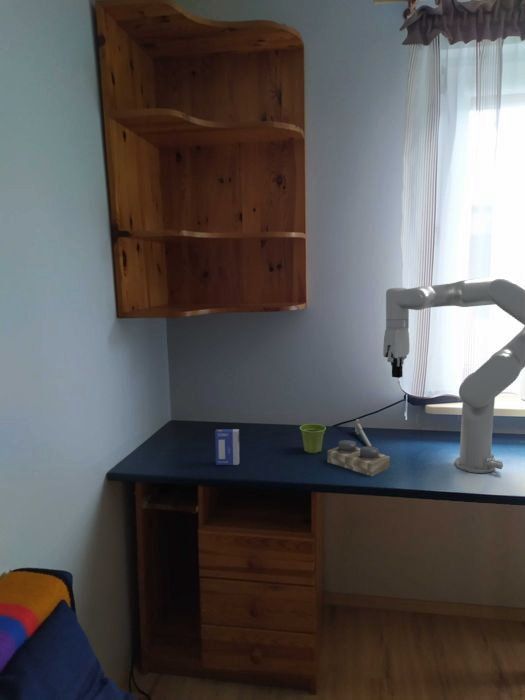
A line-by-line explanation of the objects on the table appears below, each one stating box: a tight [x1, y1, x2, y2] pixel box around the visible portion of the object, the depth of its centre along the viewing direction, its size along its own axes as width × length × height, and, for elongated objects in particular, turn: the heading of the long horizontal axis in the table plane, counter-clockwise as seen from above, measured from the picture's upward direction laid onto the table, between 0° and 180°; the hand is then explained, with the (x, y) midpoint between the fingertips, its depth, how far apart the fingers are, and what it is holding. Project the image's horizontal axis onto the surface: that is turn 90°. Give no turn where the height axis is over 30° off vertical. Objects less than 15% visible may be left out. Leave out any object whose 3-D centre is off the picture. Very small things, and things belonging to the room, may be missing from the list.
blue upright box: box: [214, 428, 240, 466], centre depth 180 cm, size 8×3×12 cm, turn 90°
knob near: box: [359, 445, 380, 461], centre depth 175 cm, size 6×6×6 cm
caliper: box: [354, 418, 373, 447], centre depth 203 cm, size 20×1×6 cm, turn 6°
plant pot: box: [299, 423, 327, 454], centre depth 192 cm, size 9×9×9 cm
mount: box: [326, 446, 391, 477], centre depth 178 cm, size 18×10×4 cm, turn 44°
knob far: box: [337, 439, 357, 454], centre depth 181 cm, size 6×6×6 cm
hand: (397, 376), depth 185 cm, fingers closed
